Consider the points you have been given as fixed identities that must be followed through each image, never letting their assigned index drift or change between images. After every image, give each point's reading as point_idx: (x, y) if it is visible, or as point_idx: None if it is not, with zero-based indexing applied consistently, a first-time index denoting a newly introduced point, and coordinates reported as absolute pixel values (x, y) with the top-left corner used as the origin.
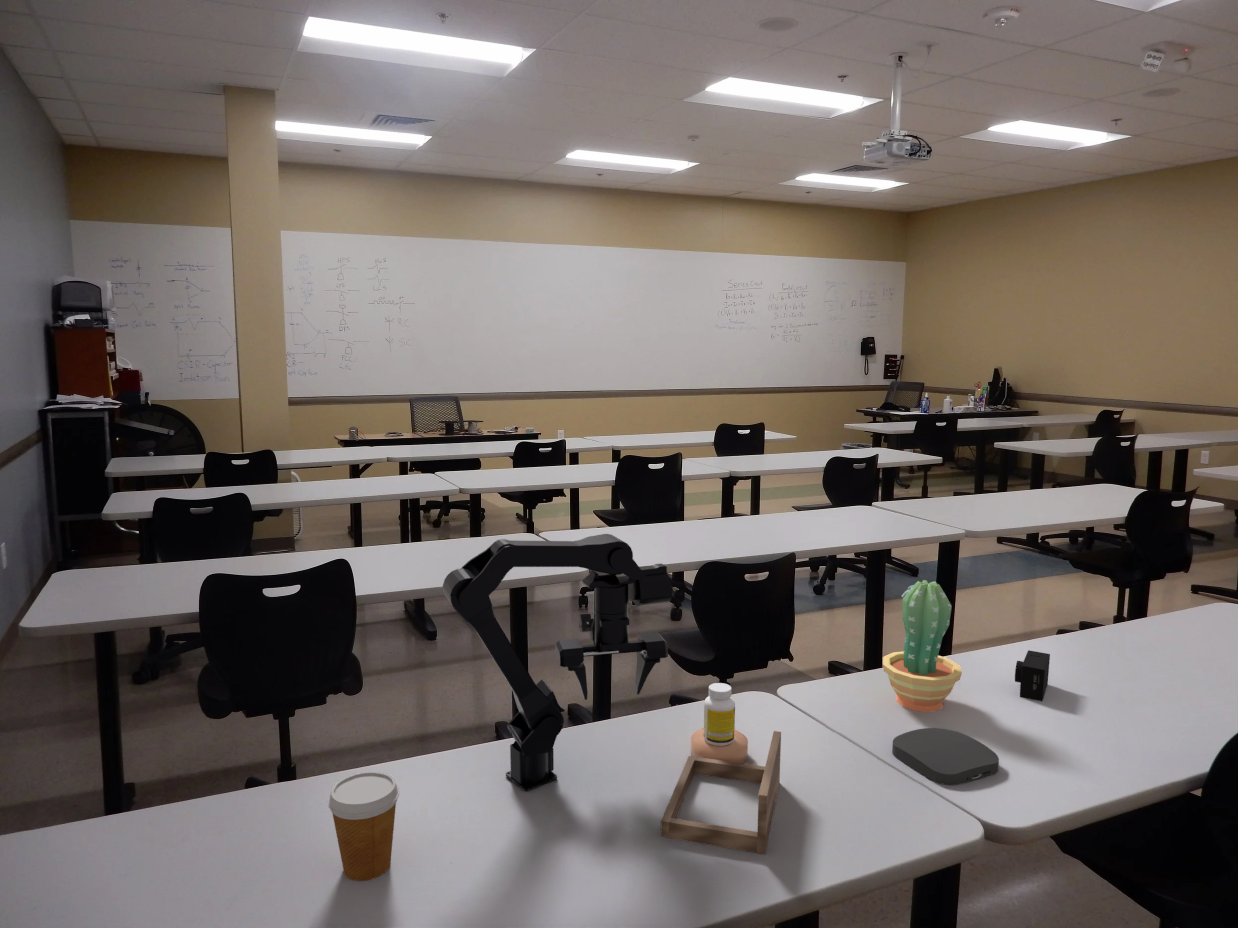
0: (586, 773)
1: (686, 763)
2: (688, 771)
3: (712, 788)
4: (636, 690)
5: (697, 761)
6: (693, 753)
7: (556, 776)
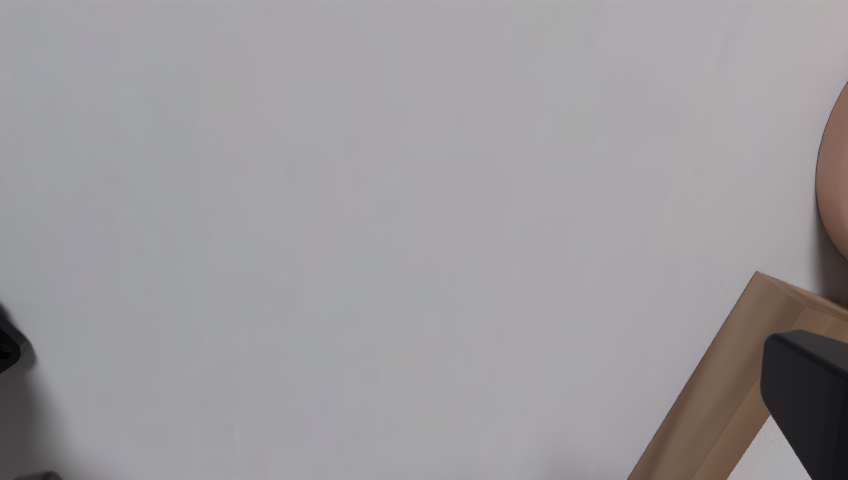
0: (204, 287)
1: (759, 381)
2: (739, 450)
3: None
4: (788, 403)
5: None
6: (842, 195)
7: (18, 355)
